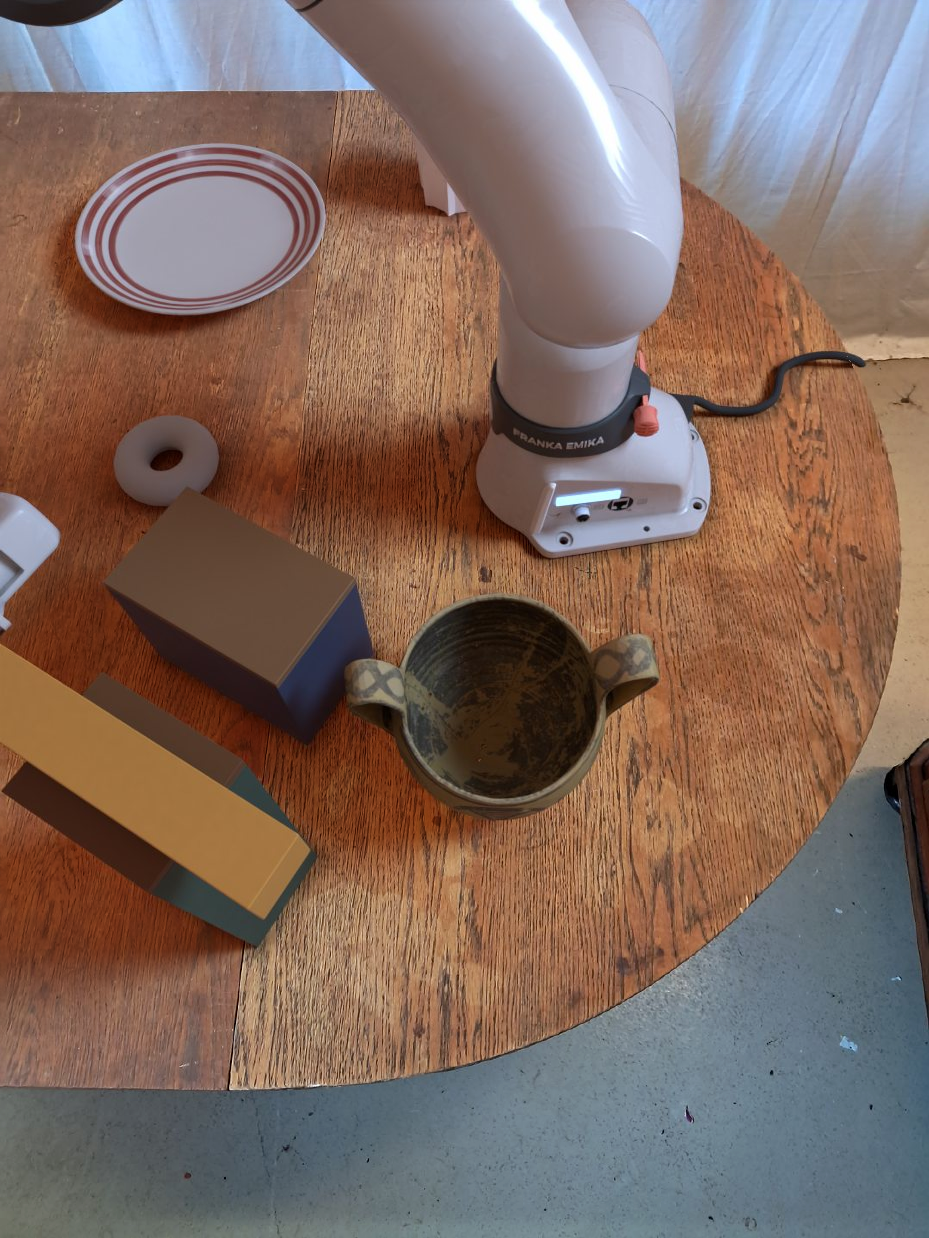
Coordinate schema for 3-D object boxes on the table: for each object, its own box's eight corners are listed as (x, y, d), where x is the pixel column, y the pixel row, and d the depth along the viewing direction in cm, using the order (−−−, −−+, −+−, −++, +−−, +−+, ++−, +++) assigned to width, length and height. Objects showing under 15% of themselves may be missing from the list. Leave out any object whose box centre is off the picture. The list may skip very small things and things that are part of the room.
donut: (106, 505, 86) (204, 521, 85) (91, 484, 83) (193, 500, 82) (142, 423, 91) (236, 437, 89) (130, 400, 88) (227, 415, 86)
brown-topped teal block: (156, 878, 71) (0, 790, 47) (219, 793, 74) (101, 671, 50) (257, 947, 68) (146, 891, 45) (318, 856, 71) (243, 759, 48)
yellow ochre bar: (-111, 667, 50) (-150, 642, 47) (-58, 612, 51) (-93, 584, 48) (264, 920, 44) (247, 910, 41) (311, 849, 45) (299, 834, 42)
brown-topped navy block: (160, 657, 79) (101, 582, 66) (230, 572, 83) (186, 485, 70) (308, 746, 75) (275, 685, 63) (374, 653, 79) (355, 577, 66)
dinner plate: (113, 160, 108) (103, 135, 105) (340, 164, 107) (336, 139, 104) (59, 333, 96) (46, 310, 93) (314, 339, 95) (309, 316, 92)
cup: (407, 168, 107) (402, 88, 98) (490, 157, 107) (491, 76, 99) (421, 226, 102) (416, 147, 94) (507, 215, 103) (510, 135, 94)
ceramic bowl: (611, 637, 80) (640, 551, 66) (645, 827, 72) (684, 775, 59) (361, 658, 79) (337, 575, 65) (368, 852, 71) (344, 804, 58)
